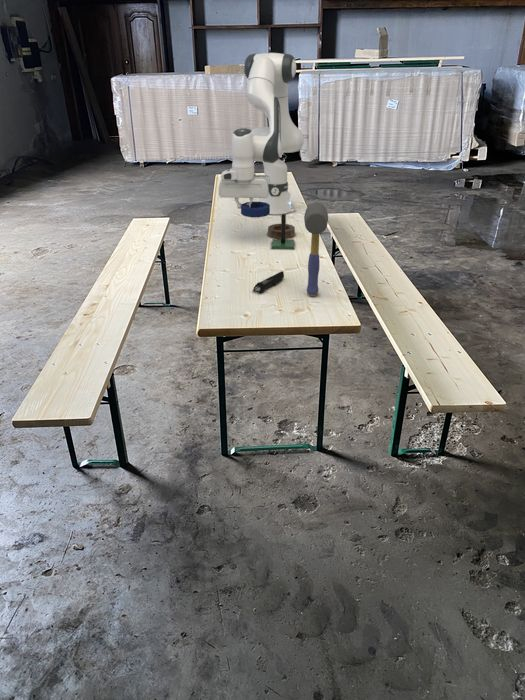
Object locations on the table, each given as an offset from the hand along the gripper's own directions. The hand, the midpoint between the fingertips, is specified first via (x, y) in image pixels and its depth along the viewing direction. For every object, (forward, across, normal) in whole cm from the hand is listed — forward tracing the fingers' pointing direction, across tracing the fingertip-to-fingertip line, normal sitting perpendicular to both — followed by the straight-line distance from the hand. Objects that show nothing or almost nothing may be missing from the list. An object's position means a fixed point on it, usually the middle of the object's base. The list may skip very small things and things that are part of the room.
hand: (244, 208), depth 216 cm
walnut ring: (+15, -15, -11) cm, 24 cm away
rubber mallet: (+14, -28, +52) cm, 61 cm away
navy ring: (+2, -5, 0) cm, 5 cm away
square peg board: (+14, -16, +3) cm, 22 cm away
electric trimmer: (+14, -13, +45) cm, 49 cm away
